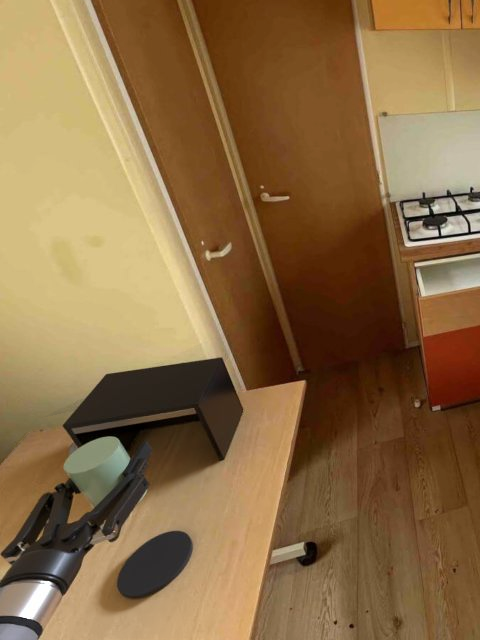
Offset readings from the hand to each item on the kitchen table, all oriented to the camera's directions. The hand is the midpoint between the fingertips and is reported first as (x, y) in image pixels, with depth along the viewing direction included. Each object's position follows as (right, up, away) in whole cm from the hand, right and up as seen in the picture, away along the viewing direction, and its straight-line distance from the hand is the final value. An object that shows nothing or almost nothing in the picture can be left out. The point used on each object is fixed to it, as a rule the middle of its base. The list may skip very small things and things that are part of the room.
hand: (122, 451), depth 77 cm
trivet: (+5, -22, +2) cm, 23 cm away
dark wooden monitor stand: (-9, -10, +25) cm, 28 cm away
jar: (+1, -8, -1) cm, 8 cm away
